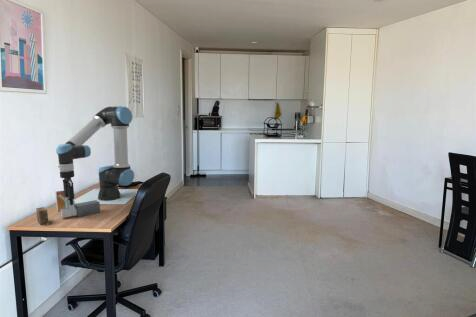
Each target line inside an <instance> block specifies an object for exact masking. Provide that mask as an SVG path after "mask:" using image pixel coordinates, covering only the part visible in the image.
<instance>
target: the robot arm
mask: <svg viewBox="0 0 476 317" xmlns="http://www.w3.org/2000/svg"><path fill="white" fill-rule="evenodd" d="M132 121H133V113H132V111H131V110H130V109H129V107H127V106H122V105H121V106H120V105H119V106H107V107H104V108H102V109H101V110H99V111H98V112H97V113H95V115H93V117H92V119H91V120H90V121H89V122H88V123H87V124H86V125H84V127H81V129H80V130H79V131H78V132H76V133H75V135H73V136H72V137H70V139H69V140H67V142H65V143H62V144H59V145H57V147H56V150H55V151H56V154H57V157H58V166H57V167H58V168H59V177H60V179H62V184H63V189H64V196H65V197H66V200H68V203H69V211H71V210H74V201H75V200H74V199H75V191H74V182H73V180H72V178H74V177H75V171H74V170H75V166H74V160H78V159H84V158H88V157H90V156H91V154H92V152H91V147H90V146H89V145H87V144H85V143H86V142H87V141H89V139H91V137H93V136H94V135H95V133H97V132H98V131H99V130H100V129H102V128H104V127H106V125H110V127H111V128H112V129H113V143H114V145H113V146H114V148H113V149H114V164H112V165H106V166H105V165H104V166H100V167H99V168H98V180H99V181H98V182H99V190H98V195H97V199H98V200H99V201H113V200H117V198H118V199H120V198H121V192H120V189H119V188H118V186H122V187H123V186H124V187H125V186H126V187H127V186H130V185H131V184H132V183H133V182H134V179H135V172H134V170H133V169H131V165H130V164H129V156H128V154H129V153H128V152H129V150H128V128H129V127H130V124H131V123H132Z"/></svg>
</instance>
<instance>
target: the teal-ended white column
mask: <svg viewBox="0 0 476 317" xmlns="http://www.w3.org/2000/svg"><path fill="white" fill-rule="evenodd" d="M75 204H76V203H75V200H74V210H71V211H69V203H68V200H66V201H65V206H66V208H65V209H60V210H61V211H60V217H62V218H66V217H72V216H76V215H78V214H77V207H75Z"/></svg>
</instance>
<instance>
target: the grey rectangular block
mask: <svg viewBox="0 0 476 317" xmlns="http://www.w3.org/2000/svg"><path fill="white" fill-rule="evenodd" d="M75 207H77V214H78V215H75V216H76V217H77V218H80V217H86V216H91V215H95V214H100V213H101V205H100V201H98V200H96V199H94V200H90V201H84V202H80V203H79V202H78V203H75Z"/></svg>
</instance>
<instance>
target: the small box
mask: <svg viewBox="0 0 476 317" xmlns="http://www.w3.org/2000/svg"><path fill="white" fill-rule="evenodd" d="M54 195H55V204H56V205H55V206H56V211H57V212H61V210H60V209H65V208H66V206H65V201H66V197H65V196H64V188H59V189H54Z"/></svg>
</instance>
